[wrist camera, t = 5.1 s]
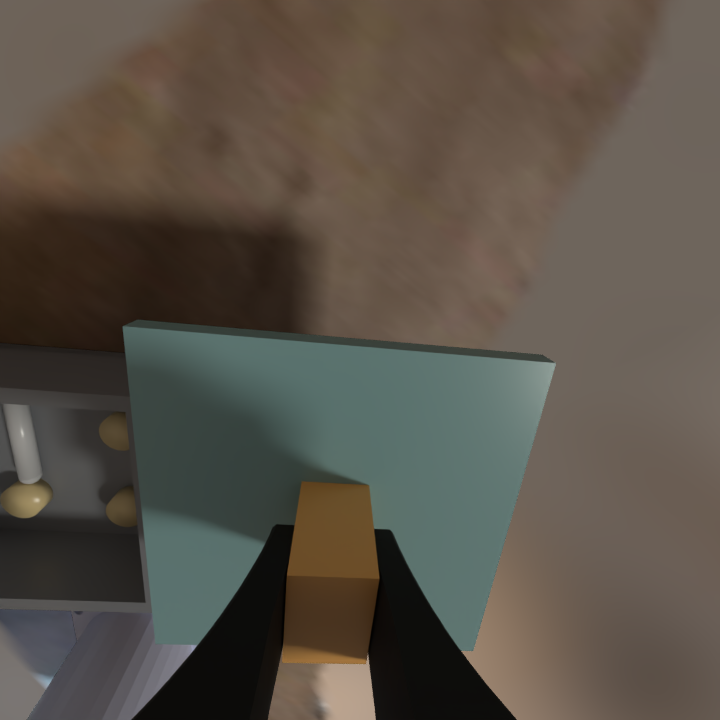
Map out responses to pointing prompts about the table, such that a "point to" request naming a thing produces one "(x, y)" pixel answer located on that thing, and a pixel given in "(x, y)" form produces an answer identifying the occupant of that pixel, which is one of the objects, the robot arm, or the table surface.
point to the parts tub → (69, 483)
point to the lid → (324, 473)
